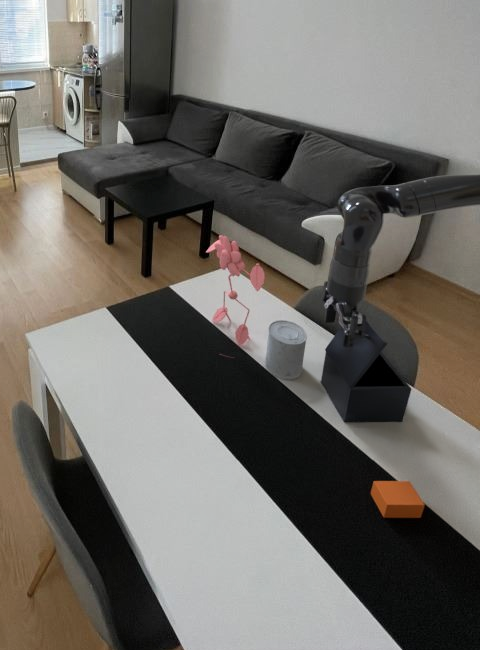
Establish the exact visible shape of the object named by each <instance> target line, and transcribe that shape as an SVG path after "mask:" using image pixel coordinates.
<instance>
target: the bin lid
mask: <svg viewBox="0 0 480 650" xmlns="http://www.w3.org/2000/svg"><path fill="white" fill-rule="evenodd" d="M358 313H359V314H360V315H362V314H363V313H362V311H360V309H358ZM350 318H351V317H349V318H344V319H345V320H346V321H350ZM336 319H337V321H338V323H339V325H340V328H339V329H338V330H337V332H336V333H335V335H334V336H333V338H332V339H331V340H330V342H329V343H328V344H327V345H326V348H325V349H324V351H325V353H326V352H327V354H328V355H329V357H330V358H331V360H332V361H333V363H334V364H335V366H336V367H337V369H338V371H339V372H340V374H341V375H342V377H343V378H344V380H345V381H346V383H347V384H348V386H349V387H350V388H353V387H354V386H355V385H356V383H357V382H358V381H359V380H360V378H361V377H362V376H363V375H364V373H365V372H366V371H367V369H368V368H369V367H370V366H371V364H372V363H373V362H374V360H375V359H376V358H377V357H378V355H379V354H380V353H381V352H383V350H384V349H385V348H386V346H387V345H388V342H387V341H386V340H385V339H384V337H383V336H382V335H381V334H380V333H379V332H378V330H377V329H376V328H375V327H374V326H373V325H372V324H371V322H370V321H369V320H368V319H367V318H366V324H365V330H364V336H363V338H359V339H355V342H354V346H353V347H343V345H342V340H343V335H344V328H343V324H341V323H340V318H339V316H338V317H337V318H336ZM348 329H349V330H350V324H348ZM358 331H359V330H358Z"/></svg>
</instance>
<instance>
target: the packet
mask: <svg viewBox="0 0 480 650" xmlns="http://www.w3.org/2000/svg"><path fill="white" fill-rule="evenodd" d="M370 496H371V498H372V499H373V501H374V503H375V506H377V508H378V510H379V513H381V515H382V517H383V518H384V519H385V518H386V519H421V518H422V515H423V512H424V509H425V505H426V504H425V503H424V501H423V499H422V498H421V497H420V494H419V493H418V492H417V491H416V489H415V488H414V486H413V484H412V483H411V481H410V480H374V481H373V482H372V487H371V489H370Z"/></svg>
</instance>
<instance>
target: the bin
mask: <svg viewBox="0 0 480 650" xmlns="http://www.w3.org/2000/svg"><path fill="white" fill-rule="evenodd" d="M320 384H321V386H322V387H323V390H324V391H325V392H326V394H327V396H328V398H329V400H330V401H331V403H332V405H333V406H334V408H335V409H336V412H337V413H338V414H339V417H340V418H341V420H342V421H343V423H344V424H345V423H348V424H349V423H403V422H404V418H405V414H406V410H407V407H408V403H409V399H410V395H411V392H412V388H411V386H410V385H409V383H408V382H407V381H406V380H405V378H403V376H402V375H401V374H400V373H399V371H398V370H397V369H396V368H395V366H394V365H393V364H392V363H391V362H390V360H389V359H388V358H387V357H386V355H384V353H383V351H381V353H380V354H379V355H378V357H377V358H376V359H375V360H374V362H373V363H372V364H371V366H370V367H369V368H368V369H367V371H366V372H365V373H364V375H363V376H362V377H361V378H360V380H359V381H358V382H357V383H356V385H355V386H354V387H353V388H350V387H349V386H348V384H347V383H346V381H345V380H344V378H343V377H342V375H341V374H340V372H339V371H338V369H337V367H336V366H335V364H334V363H333V361H332V360H331V358H330V357H329V355H328V354H327V352H326V351H325V355H324V360H323V366H322V372H321V379H320Z"/></svg>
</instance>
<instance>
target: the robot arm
mask: <svg viewBox="0 0 480 650" xmlns="http://www.w3.org/2000/svg"><path fill="white" fill-rule="evenodd" d="M476 206H480V174H446V175H437V176H430V177H425V178H420V179H416V180H412V181H407V182H403V183H399V184H393V185H375V186H374V185H373V186H363V187H356V188H353V189H350V190H348V191H346V192H344V193H342V194H341V195H340V196H339V198H338V199H337V203H336V208H337V211H338V212H339V214H340V216H341V217H342V219H343V229H342V231H341V232H340V233H338V234H337V236H336V238H335V240H334V246H333V253H332V258H331V260H330V264H329V270H328V271H329V272H328V276H327V281H324V282H323V287H322V293H321V297H320V300H321V302H322V303H324V308H325V311H324V318H323V320H324V322H325V323H328V324H330V323H332V324H333V323H335V321H336V315H337V314H338V317H339V318H340V323H341V324H343V328H344V335H343V340H342V345H343V347H353V346H354V342H355V339H359V338H363V336H364V330H365V324H366V319H367V316H366V314H364V313H362V315H360V314H359V313H358V310H359V308H358V304H359V303H360V302H362V301H363V300H364V299H365V296H366V293H367V286H368V281H369V276H370V268H371V267H370V266H371V265H370V264H371V260H372V259H371V258H372V254H373V248H374V245H375V244H376V242H377V240H378V239H379V236H380V234H381V232H382V230H383V227H384V223H385V222H384V221H385V215H386V214H393V215H396V216H398V217H400V218H407V219H408V218H415V217H420V216H425V215H429V214H435V213H440V212H444V211H445V212H446V211H449V210H450V211H451V210H455V209H461V208H468V207H476ZM349 317H351V318H350V321H346V320H345V319H344V318H349ZM340 323H339V324H340ZM341 324H340V325H341ZM348 324H350V330H349V329H348ZM358 330H359V331H358Z"/></svg>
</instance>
